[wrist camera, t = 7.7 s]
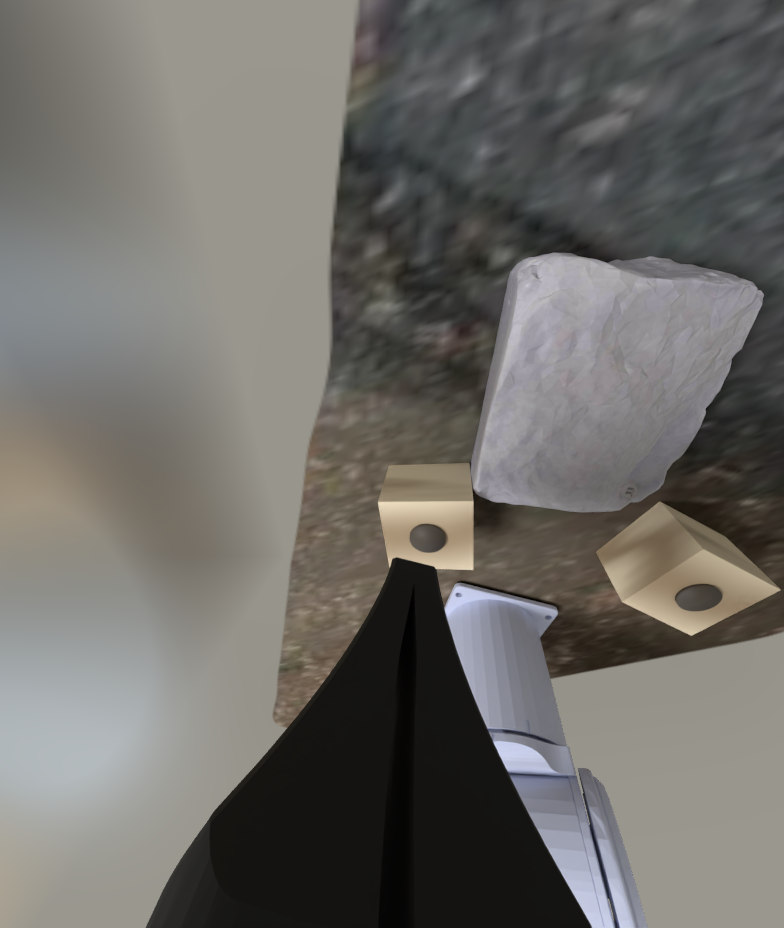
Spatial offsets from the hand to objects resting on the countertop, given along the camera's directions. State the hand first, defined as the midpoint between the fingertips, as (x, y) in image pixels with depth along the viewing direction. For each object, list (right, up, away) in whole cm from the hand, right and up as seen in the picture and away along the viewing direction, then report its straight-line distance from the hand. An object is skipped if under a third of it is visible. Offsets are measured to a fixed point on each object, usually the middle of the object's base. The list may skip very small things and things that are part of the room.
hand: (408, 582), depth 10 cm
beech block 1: (+2, +2, +11) cm, 11 cm away
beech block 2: (+16, -1, +10) cm, 20 cm away
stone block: (+9, +8, +7) cm, 14 cm away
